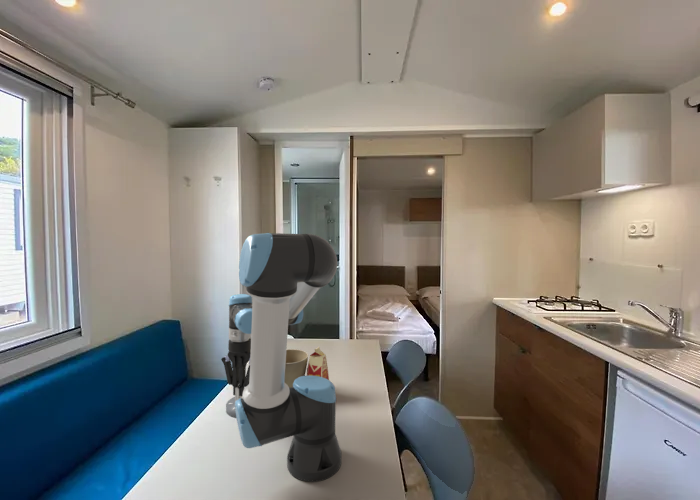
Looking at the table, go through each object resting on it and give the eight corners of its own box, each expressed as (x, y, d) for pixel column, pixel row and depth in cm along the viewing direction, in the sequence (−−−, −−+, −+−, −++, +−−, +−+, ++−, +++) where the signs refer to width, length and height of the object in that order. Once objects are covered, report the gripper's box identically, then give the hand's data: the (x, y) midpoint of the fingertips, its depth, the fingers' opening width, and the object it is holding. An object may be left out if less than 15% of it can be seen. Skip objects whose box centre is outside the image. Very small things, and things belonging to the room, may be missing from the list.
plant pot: (268, 389, 134) (268, 351, 134) (304, 384, 139) (304, 347, 138) (271, 407, 120) (271, 364, 119) (311, 401, 125) (311, 360, 124)
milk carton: (325, 403, 123) (325, 351, 122) (301, 401, 125) (301, 349, 124) (331, 392, 132) (331, 343, 131) (309, 390, 134) (309, 342, 133)
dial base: (252, 420, 111) (252, 414, 111) (217, 414, 115) (217, 408, 115) (272, 400, 125) (272, 395, 125) (241, 395, 129) (240, 390, 128)
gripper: (217, 340, 111) (216, 407, 113) (251, 344, 109) (250, 412, 110) (229, 333, 119) (227, 396, 120) (261, 337, 116) (260, 401, 118)
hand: (238, 404), depth 115 cm, fingers closed
